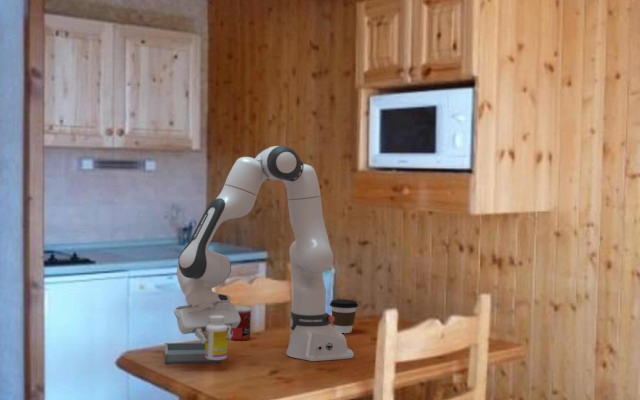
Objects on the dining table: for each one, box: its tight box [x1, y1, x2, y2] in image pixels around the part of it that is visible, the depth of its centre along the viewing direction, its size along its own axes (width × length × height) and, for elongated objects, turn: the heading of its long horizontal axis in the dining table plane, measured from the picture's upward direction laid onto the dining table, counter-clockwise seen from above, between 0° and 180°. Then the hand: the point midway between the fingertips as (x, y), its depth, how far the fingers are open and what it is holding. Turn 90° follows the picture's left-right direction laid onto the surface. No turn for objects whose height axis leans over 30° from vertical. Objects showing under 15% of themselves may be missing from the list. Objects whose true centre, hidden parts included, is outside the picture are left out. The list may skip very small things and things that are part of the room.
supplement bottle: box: [204, 315, 228, 361], centre depth 228 cm, size 7×7×13 cm
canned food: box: [229, 306, 252, 342], centre depth 270 cm, size 8×8×11 cm
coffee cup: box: [329, 298, 359, 334], centre depth 287 cm, size 11×11×12 cm
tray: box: [164, 342, 223, 365], centre depth 241 cm, size 18×16×3 cm
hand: (217, 340), depth 227 cm, fingers closed on supplement bottle, 7 cm apart
